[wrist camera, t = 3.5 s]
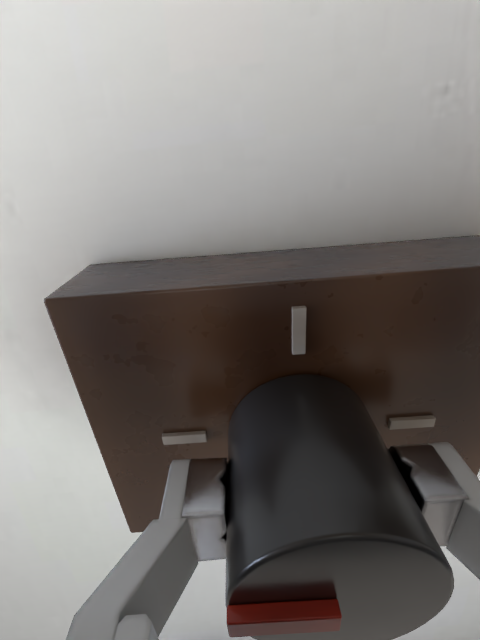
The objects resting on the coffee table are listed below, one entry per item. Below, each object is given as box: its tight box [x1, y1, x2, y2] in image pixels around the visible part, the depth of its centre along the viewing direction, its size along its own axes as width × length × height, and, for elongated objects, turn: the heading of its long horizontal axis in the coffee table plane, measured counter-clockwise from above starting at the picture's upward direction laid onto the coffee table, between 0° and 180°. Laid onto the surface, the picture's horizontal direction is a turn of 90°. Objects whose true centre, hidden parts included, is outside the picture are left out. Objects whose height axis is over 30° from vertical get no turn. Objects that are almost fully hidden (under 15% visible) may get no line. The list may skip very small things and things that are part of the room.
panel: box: [44, 236, 480, 533], centre depth 12 cm, size 13×10×3 cm
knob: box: [226, 374, 454, 640], centre depth 8 cm, size 4×4×5 cm
